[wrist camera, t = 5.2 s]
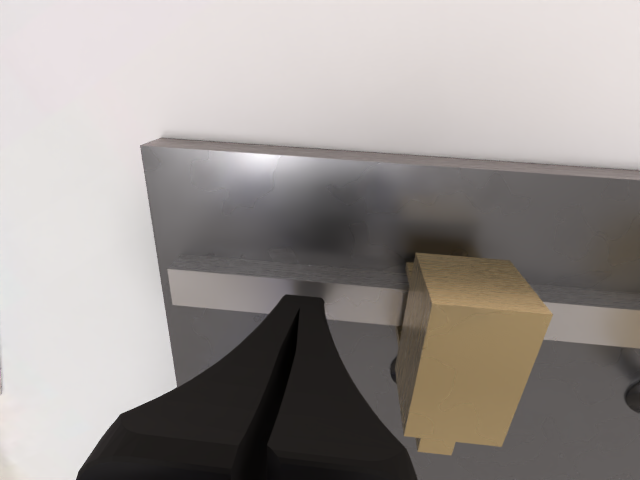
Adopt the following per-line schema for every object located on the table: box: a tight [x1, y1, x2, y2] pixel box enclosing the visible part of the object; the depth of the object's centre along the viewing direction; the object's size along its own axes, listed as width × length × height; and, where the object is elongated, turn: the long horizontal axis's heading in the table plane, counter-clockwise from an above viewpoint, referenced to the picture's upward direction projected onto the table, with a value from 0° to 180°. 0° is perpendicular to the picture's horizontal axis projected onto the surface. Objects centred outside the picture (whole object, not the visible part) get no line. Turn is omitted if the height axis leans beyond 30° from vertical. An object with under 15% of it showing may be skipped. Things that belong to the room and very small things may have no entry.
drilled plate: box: [140, 138, 640, 480], centre depth 15 cm, size 18×24×6 cm
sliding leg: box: [395, 253, 553, 456], centre depth 13 cm, size 7×3×4 cm, turn 177°
